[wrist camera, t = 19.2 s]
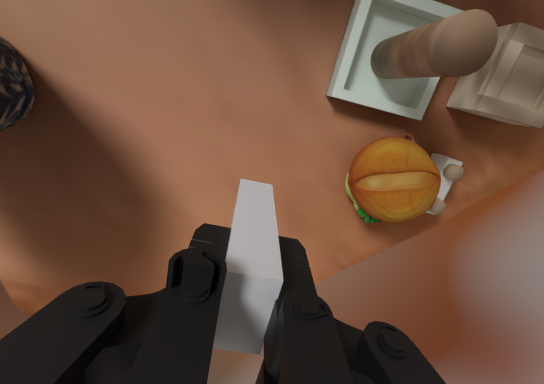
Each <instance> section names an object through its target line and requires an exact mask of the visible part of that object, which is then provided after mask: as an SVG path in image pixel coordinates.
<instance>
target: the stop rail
mask: <svg viewBox="0 0 544 384" xmlns="http://www.w3.org/2000/svg"><path fill="white" fill-rule="evenodd" d="M431 159H432V160H433V161H434V163H435V164H436V166H437V168H438V170H439V172H440V175H441V185H440V189H439V193H438V195H437V198H436V200H435V202H434V203H433V205H432V206H431V207H430V208H429V210H427V211H426V212H425V213H429V214H433V215H436V214H440V213H442V212H443V211H444V210H445V208H446V204H445V202H443V200H444V198H445V197H446V195H447V193H448V191H449V189H450V187H451V185H452V183H453V181H457V180H459V179H460V178H461V177H462V176H463V174H464V169H463V168H462V167H461V166H462V164H463V162H460V161H458V160H455V159H453V158H450V157H447V156H444V155H440V154H436V153H432V155H431Z"/></svg>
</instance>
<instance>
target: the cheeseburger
mask: <svg viewBox="0 0 544 384" xmlns="http://www.w3.org/2000/svg"><path fill="white" fill-rule="evenodd" d="M440 185H441V175H440V172H439V170H438V168H437V166H436V164H435V163H434V161H433V160H432V159H431V157H430V156H429V155H428V153H427V152H426V151H425V150H424V149H423V148H422V147H421V146H419V145H418V144H416V142H415V141H414V138H413V136H412V135H410V134H405V135H404V136H403V137H385V138H381V139H378V140H375V141H373V142H371V143H370V144H368V145H366V146H365V147H363V148H362V149H361V150H360V151H359V152H358V154H357V155H356V156H355V158H354V159H353V162H352V164H351V167H350V169H349V172H348V174H347V177H346V181H345V189H346V192H347V195H348V196H349V197H350V199H351V200H352V201H353V202H354V208H355V209H356V210H357V213H358V214H359V215H360V216H361V217H363V216H365V217H364V222H368V223H372V222H381V221H383V222H389V223H402V222H407V221H411V220H413V219H415V218H417V217H419V216H421V215H423V214H424V213H425V212H426V211H427V210H429V208H430V207H431V206H432V205H433V203H434V202H435V200H436V198H437V195H438V193H439V189H440ZM361 217H360V218H361Z"/></svg>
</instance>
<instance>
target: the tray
mask: <svg viewBox="0 0 544 384" xmlns="http://www.w3.org/2000/svg"><path fill="white" fill-rule="evenodd" d="M461 12H464V11H463V10H460V9H457V8H454V7H451V6H448V5H445V4H442V3H440V2H437V1H434V0H355V1H354V4H353V8H352V11H351V14H350V17H349V21H348V24H347V27H346V31H345V34H344V37H343V41H342V44H341V47H340V50H339V54H338V57H337V60H336V64H335V67H334V70H333V74H332V77H331V80H330V83H329V87H328V90H327V93H326V95H327V96H330V97H334V98H338V99H341V100H345V101H349V102H352V103H356V104H360V105H363V106H367V107H371V108H374V109H378V110H382V111H385V112H389V113H393V114H397V115H400V116H404V117H408V118H412V119H416V120H420V121H421V120H422V117H423V115H424V113H425V111H426V108H427V106H428V104H429V101H430V99H431V97H432V94H433V92H434V90H435V88H436V85H437V83H438V81H439V78H440V77H426V78H400V79H382V78H379V77H378V76H376V75H375V74H374V72H373V71H372V68H371V63H370V61H371V55H372V52H373V50H374V48H375V47H376V46H377V45H378V44H379V43H380V42H381V41H383V40H385V39H387V38H390V37H393V36H396V35H399V34H402V33H404V32H407V31H410V30H413V29H416V28H419V27H422V26H424V25H427V24H430V23H433V22H436V21H439V20H441V19H444V18H447V17H450V16H453V15H456V14H459V13H461Z"/></svg>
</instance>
